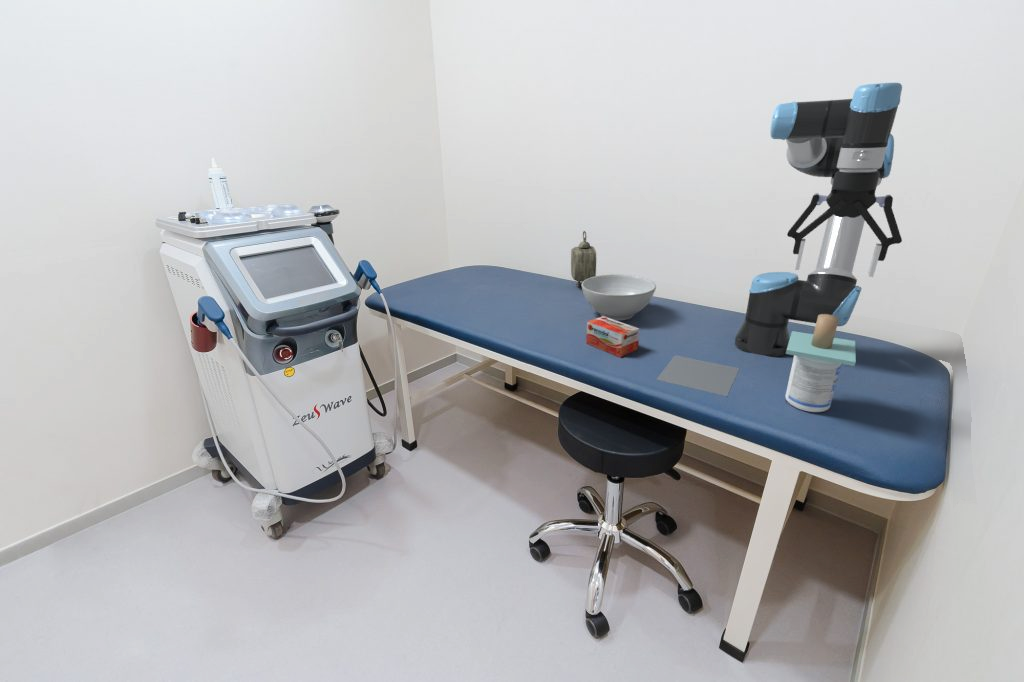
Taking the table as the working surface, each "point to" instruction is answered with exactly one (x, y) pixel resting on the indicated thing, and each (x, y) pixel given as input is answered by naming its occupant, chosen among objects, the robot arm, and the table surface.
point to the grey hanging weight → (583, 261)
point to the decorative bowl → (618, 295)
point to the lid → (823, 343)
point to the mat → (699, 375)
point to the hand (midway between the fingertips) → (832, 271)
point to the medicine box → (612, 336)
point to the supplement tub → (812, 384)
